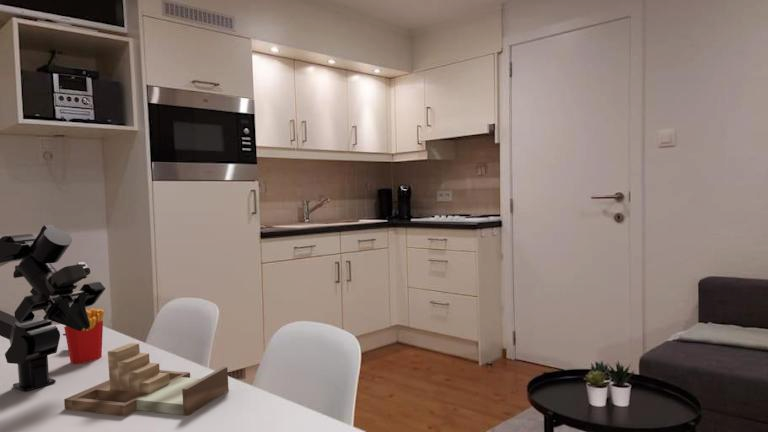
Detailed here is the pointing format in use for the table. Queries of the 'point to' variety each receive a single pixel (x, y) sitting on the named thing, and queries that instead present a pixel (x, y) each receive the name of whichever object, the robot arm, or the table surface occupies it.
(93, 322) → the french fries
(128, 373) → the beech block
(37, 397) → the table surface
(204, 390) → the brown wooden flat frame
